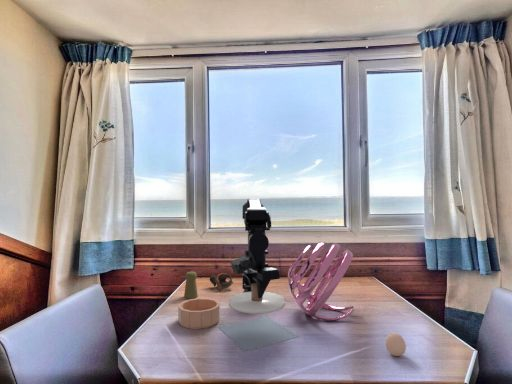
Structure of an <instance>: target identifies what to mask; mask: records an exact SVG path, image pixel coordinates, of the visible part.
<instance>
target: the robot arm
mask: <svg viewBox="0 0 512 384" xmlns="http://www.w3.org/2000/svg"><path fill="white" fill-rule="evenodd" d="M241 215H242V217H241V218H242V219H243V222H244V223H243V224H244V229H245V232H246V231H247V249H246V250H245V251H244V255H243V256H240V257H238V258H236V259H234V260H232V261H231V262H230V265H231V268H232V271H233V273H236V274H237V275H242V280H241V281H242V285H241V286H242V290H243V291H242V293H244V292H251V284H252V283H257V292H258V298H262V296H263V294H264V292H266V290H267V288H268V286H269V284H270V282H271V281H273V280H279V279H281V271H280V270H279V269H278V268H275V267H269V263H267V261H266V259H267V256H266V255H269V250H267V249H268V247H269V243H270V241H269V238H268V235H266V231H270V230H271V228H272V220H271V219H272V218H271V215H270V212H269V211H267V208H266V207H264V205H263V204H262V202H261V199H260V198H258V197H256V198H254V197H253V198H247V199H246V202H245V203H244V204H243V205H242V214H241Z"/></svg>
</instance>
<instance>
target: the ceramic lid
mask: <svg viewBox="0 0 512 384" xmlns="http://www.w3.org/2000/svg"><path fill="white" fill-rule="evenodd" d="M228 307H229V308H230V309H232V310H233V311H235V312H240V313H244V314H254V315H255V314H256V315H258V314H260V315H261V314H270V313H274V312H278V311H279V310H282V309H283V308H285V307H286V299H285V297H284V296H283V295H280V294H278V293H274V292H269V291H265V292H264V294H263V296H262V298H258V292H257V283H252V284H251V292H244V293H243V292H239V293H237V294H234V295H232V296H231V297H230V298H229V299H228Z"/></svg>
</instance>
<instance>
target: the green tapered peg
mask: <svg viewBox="0 0 512 384" xmlns="http://www.w3.org/2000/svg"><path fill="white" fill-rule="evenodd" d="M197 277H198V273H197V272H196V271H187V272H186V273H185V274H184V278H185V287H184V293H183V294H184V295H183V299H186V300H191V299H197V298H199V295H198V286H197V280H196V279H197Z"/></svg>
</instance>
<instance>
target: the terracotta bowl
mask: <svg viewBox="0 0 512 384" xmlns="http://www.w3.org/2000/svg"><path fill="white" fill-rule="evenodd" d="M177 307H178V308H177V309H178V310H177V312H178V314H177V315H178V316H177V317H178V318H177V320H178V323H179V325H180V326H181V327H183V328H187V329H191V330H192V329H193V330H197V329H199V330H200V329H206V328H207V329H208V328H210V327H213V326H215V325H217V324H218V323H219V322H220V319H221V302H220V301H219V300H217V299H213V298H207V297H206V298H205V297H204V298H201V297H200V298H199V297H197V298H195V299H186V300H184V301H183V302H180V303H179V305H178V306H177Z"/></svg>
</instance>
